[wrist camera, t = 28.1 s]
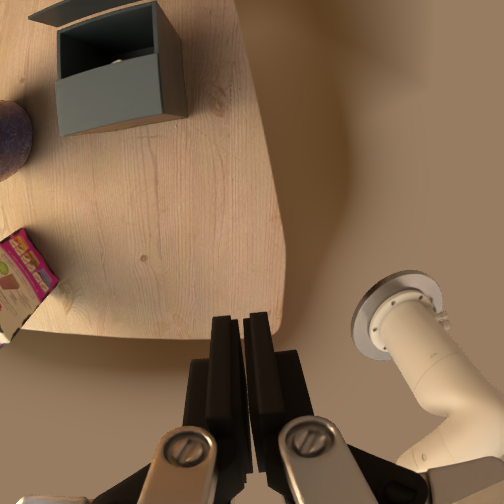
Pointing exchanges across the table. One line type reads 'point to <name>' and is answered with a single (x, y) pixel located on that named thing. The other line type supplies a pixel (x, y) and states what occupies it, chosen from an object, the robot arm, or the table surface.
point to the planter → (13, 138)
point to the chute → (119, 48)
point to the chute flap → (109, 94)
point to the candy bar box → (21, 283)
